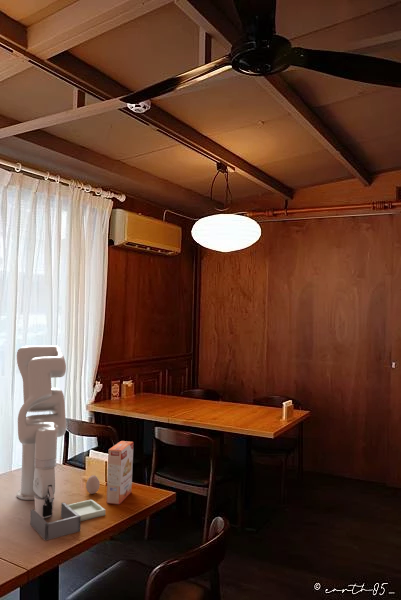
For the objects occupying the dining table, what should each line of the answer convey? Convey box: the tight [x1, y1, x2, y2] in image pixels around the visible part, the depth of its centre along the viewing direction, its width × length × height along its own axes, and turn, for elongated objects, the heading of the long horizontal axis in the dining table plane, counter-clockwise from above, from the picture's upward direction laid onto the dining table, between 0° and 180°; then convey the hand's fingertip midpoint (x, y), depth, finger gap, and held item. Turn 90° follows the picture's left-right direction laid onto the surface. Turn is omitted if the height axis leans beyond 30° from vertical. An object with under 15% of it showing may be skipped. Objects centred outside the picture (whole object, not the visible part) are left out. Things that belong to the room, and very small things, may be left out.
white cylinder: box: [34, 494, 55, 519], centre depth 176 cm, size 7×7×7 cm
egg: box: [85, 474, 100, 495], centre depth 199 cm, size 5×5×7 cm
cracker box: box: [106, 440, 134, 505], centre depth 196 cm, size 14×6×21 cm, turn 168°
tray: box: [67, 498, 106, 522], centre depth 180 cm, size 12×12×2 cm
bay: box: [29, 501, 82, 541], centre depth 168 cm, size 14×12×5 cm
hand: (43, 511), depth 176 cm, fingers closed on white cylinder, 6 cm apart
